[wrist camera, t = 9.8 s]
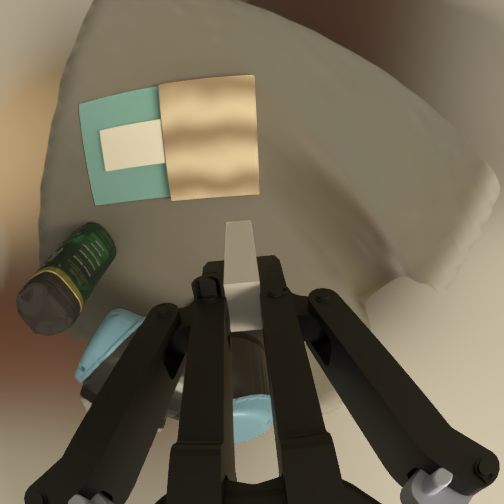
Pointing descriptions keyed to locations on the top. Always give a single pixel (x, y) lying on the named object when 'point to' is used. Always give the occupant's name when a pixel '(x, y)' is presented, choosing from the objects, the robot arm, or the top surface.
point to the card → (133, 145)
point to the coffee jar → (66, 281)
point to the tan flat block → (210, 137)
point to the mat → (102, 182)
